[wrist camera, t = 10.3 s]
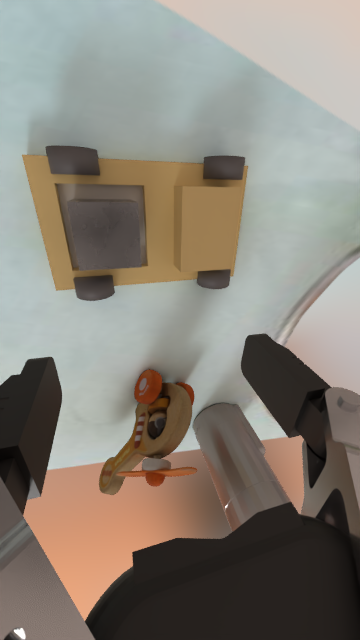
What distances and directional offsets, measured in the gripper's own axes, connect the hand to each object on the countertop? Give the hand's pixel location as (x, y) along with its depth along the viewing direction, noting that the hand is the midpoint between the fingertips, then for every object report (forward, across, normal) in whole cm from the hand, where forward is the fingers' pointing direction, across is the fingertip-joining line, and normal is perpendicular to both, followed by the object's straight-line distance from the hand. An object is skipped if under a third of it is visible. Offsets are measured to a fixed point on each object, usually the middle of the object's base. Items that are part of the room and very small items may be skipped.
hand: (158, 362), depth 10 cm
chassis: (+20, -3, -3) cm, 21 cm away
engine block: (+20, +2, -3) cm, 20 cm away
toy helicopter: (+21, -1, +25) cm, 33 cm away
